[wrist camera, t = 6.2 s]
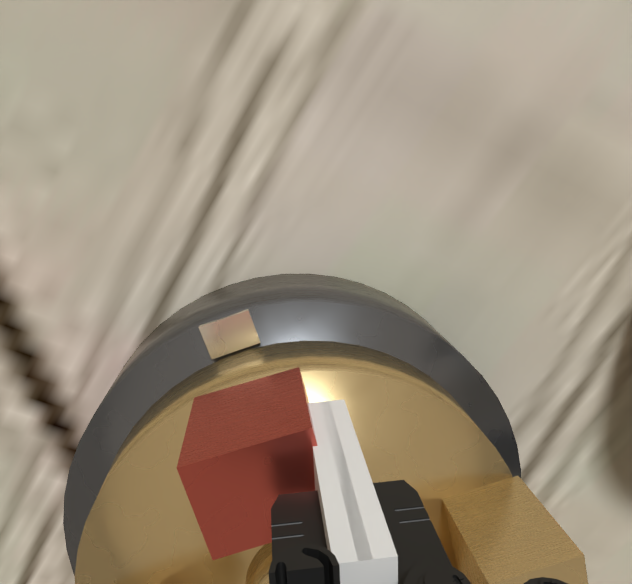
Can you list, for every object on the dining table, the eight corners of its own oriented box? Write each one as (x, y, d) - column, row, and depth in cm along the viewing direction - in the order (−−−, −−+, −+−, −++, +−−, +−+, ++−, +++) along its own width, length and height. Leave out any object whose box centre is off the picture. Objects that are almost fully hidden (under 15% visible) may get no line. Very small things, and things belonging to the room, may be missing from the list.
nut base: (508, 539, 30) (558, 615, 25) (186, 656, 30) (172, 756, 25) (425, 218, 25) (468, 233, 20) (28, 353, 24) (-31, 404, 19)
